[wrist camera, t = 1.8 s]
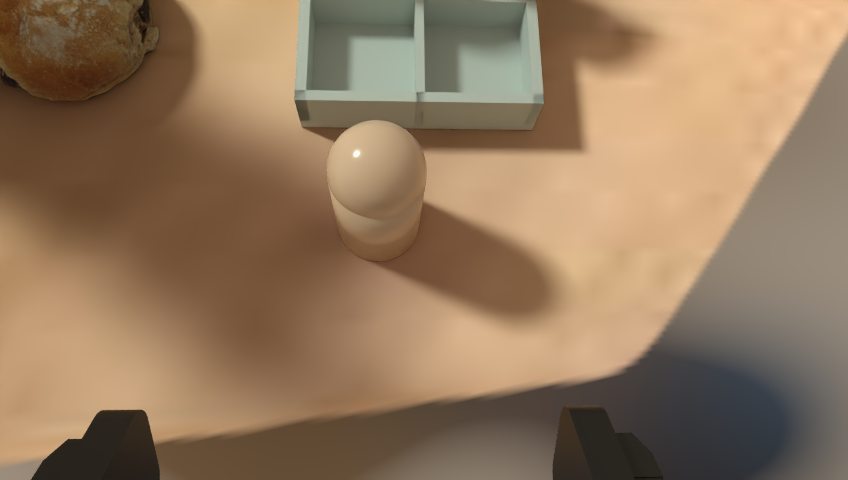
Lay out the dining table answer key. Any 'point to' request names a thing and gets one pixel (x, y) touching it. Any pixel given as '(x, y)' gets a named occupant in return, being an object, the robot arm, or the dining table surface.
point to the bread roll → (73, 45)
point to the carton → (419, 63)
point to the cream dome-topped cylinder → (377, 188)
